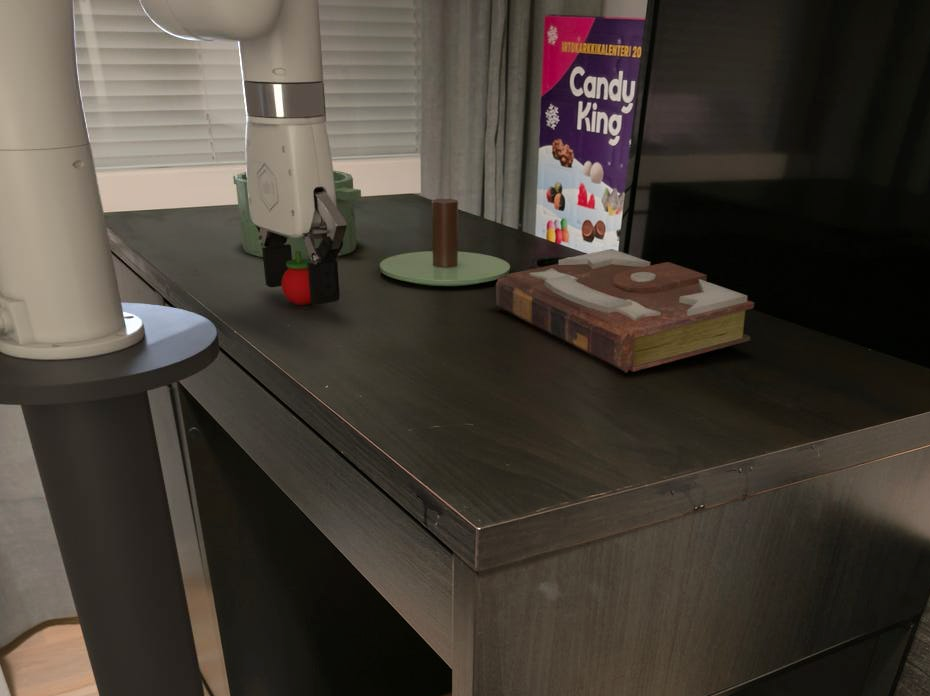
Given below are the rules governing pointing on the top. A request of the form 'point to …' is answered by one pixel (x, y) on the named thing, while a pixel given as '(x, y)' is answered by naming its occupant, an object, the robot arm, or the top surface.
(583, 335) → the book
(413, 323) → the top surface
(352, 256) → the top surface
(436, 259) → the lid
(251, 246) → the pot
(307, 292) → the tomato
